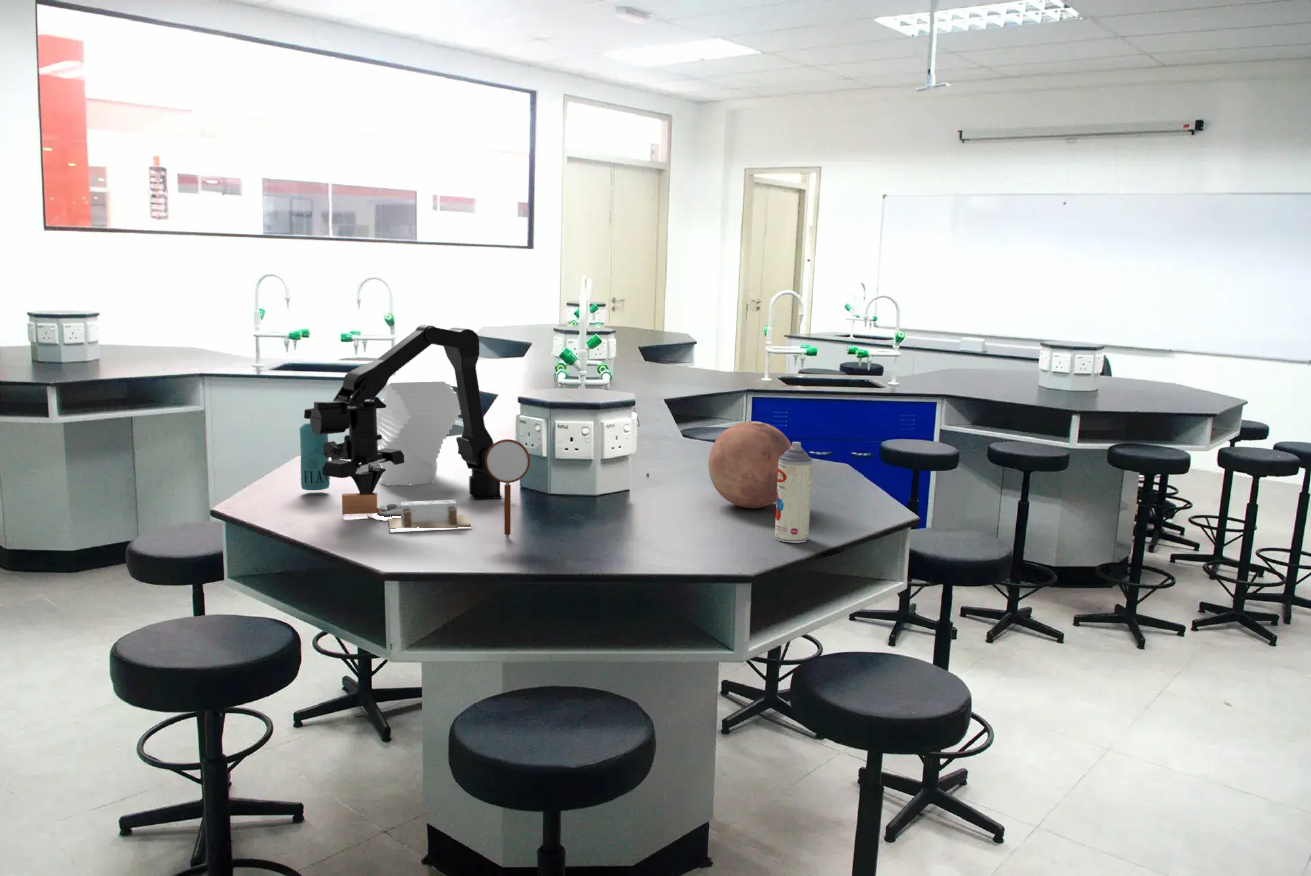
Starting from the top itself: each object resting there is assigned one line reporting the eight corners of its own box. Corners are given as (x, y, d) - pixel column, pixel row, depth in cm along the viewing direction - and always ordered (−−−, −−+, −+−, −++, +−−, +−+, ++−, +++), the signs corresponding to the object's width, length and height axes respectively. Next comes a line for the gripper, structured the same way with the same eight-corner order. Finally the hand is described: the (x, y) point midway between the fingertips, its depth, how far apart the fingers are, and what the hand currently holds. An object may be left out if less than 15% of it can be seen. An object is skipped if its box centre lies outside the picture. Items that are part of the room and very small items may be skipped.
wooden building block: (343, 511, 204) (342, 491, 204) (406, 509, 208) (406, 489, 207) (341, 518, 199) (341, 497, 198) (406, 516, 202) (406, 496, 201)
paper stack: (373, 489, 228) (371, 382, 224) (374, 468, 254) (372, 371, 250) (463, 487, 234) (462, 382, 230) (455, 466, 260) (455, 371, 256)
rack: (466, 519, 203) (466, 501, 202) (471, 529, 196) (471, 510, 195) (388, 523, 198) (387, 504, 198) (390, 533, 191) (389, 513, 190)
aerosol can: (772, 534, 198) (777, 439, 195) (805, 535, 198) (810, 440, 195) (776, 543, 191) (781, 444, 188) (810, 544, 191) (816, 445, 188)
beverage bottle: (299, 497, 219) (296, 410, 215) (302, 491, 225) (299, 406, 222) (329, 496, 220) (327, 410, 217) (331, 490, 227) (329, 406, 223)
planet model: (799, 501, 229) (803, 418, 226) (787, 520, 210) (792, 431, 207) (716, 494, 234) (720, 413, 231) (698, 512, 215) (701, 424, 212)
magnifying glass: (529, 538, 190) (530, 438, 187) (529, 540, 188) (529, 440, 185) (485, 537, 189) (485, 438, 186) (484, 540, 188) (484, 439, 184)
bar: (455, 518, 200) (454, 499, 199) (456, 522, 197) (456, 503, 196) (400, 520, 196) (400, 501, 196) (401, 524, 193) (401, 505, 193)
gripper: (366, 420, 214) (369, 488, 217) (301, 433, 198) (304, 506, 201) (404, 425, 209) (406, 494, 212) (341, 438, 193) (344, 513, 196)
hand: (366, 501), depth 205 cm, fingers closed
